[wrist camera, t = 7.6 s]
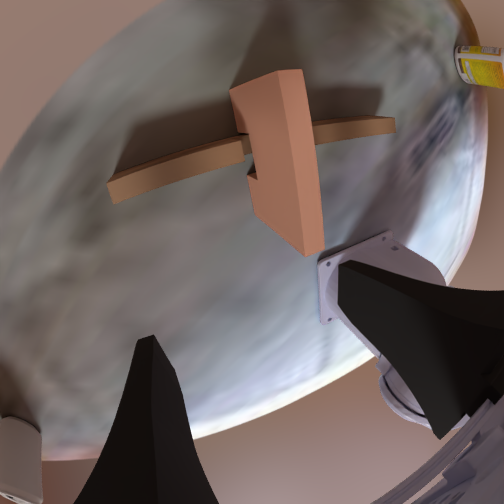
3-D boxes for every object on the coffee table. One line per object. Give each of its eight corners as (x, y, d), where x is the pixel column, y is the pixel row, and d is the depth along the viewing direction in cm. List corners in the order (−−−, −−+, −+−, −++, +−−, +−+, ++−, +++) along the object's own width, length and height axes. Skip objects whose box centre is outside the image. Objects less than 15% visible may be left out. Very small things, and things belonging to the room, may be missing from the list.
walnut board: (368, 115, 19) (394, 117, 17) (369, 128, 20) (395, 132, 17) (113, 174, 15) (106, 183, 12) (118, 192, 15) (113, 204, 13)
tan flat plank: (228, 89, 15) (277, 70, 9) (246, 86, 15) (301, 68, 10) (254, 214, 20) (305, 257, 14) (270, 209, 20) (324, 249, 14)
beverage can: (-4, 407, 17) (-13, 486, 7) (37, 421, 20) (36, 504, 10) (8, 430, 19) (5, 499, 9) (46, 441, 22) (48, 513, 12)
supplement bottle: (469, 89, 23) (530, 102, 14) (452, 70, 20) (521, 79, 12) (469, 58, 20) (528, 66, 12) (452, 37, 18) (517, 42, 10)
